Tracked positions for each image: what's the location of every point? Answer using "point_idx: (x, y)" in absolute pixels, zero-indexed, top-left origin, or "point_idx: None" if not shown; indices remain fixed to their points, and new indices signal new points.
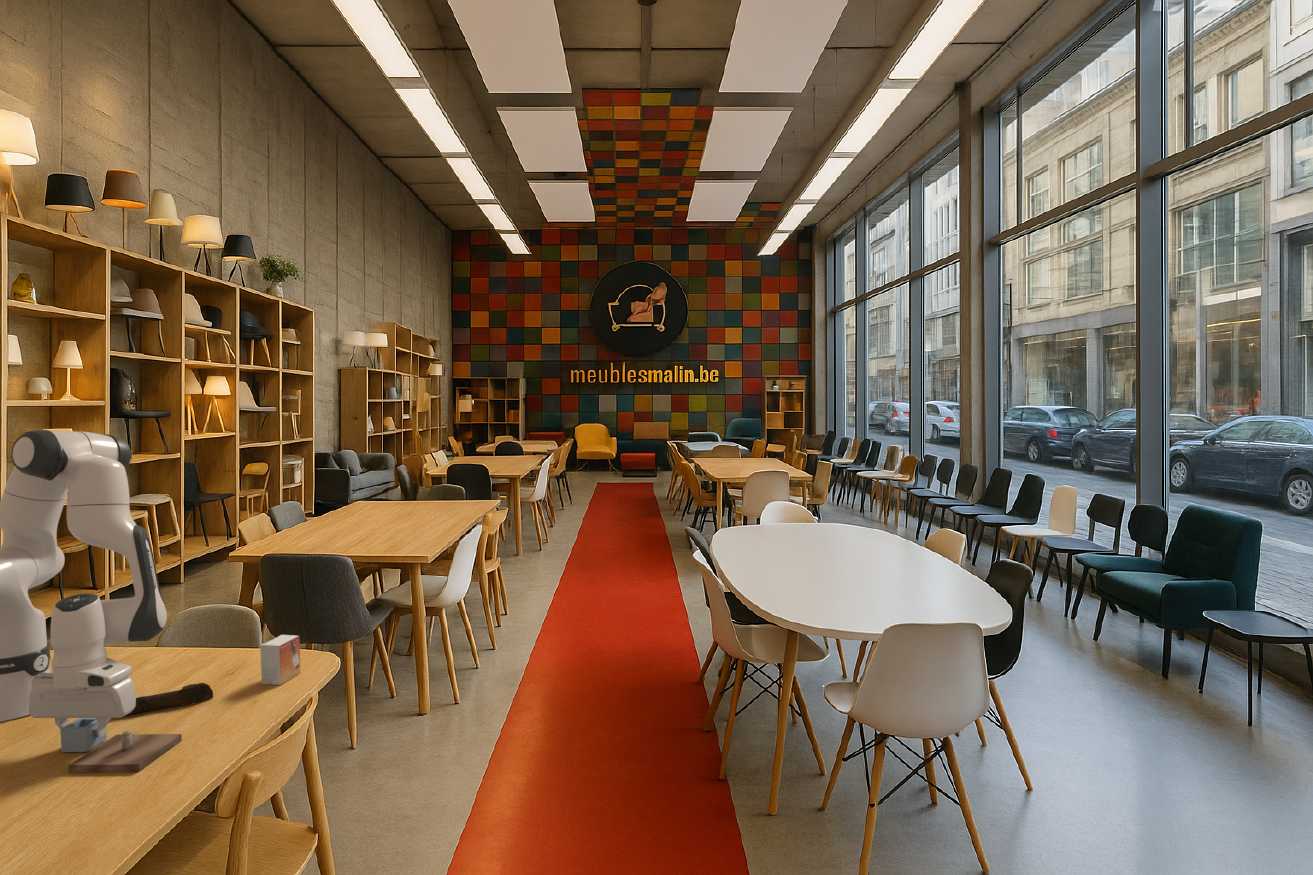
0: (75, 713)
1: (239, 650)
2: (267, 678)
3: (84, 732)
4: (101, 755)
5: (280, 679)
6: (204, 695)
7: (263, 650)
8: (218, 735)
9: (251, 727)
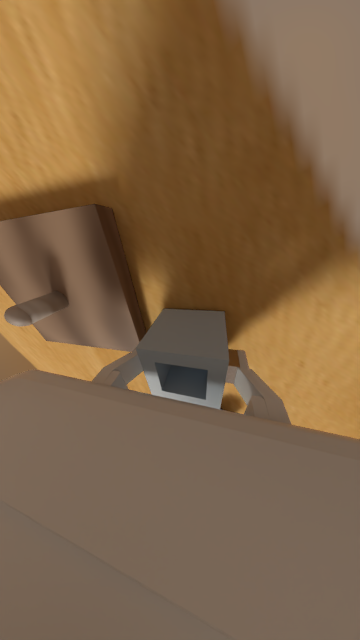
0: (160, 422)
1: None
2: None
3: (143, 339)
4: (75, 270)
5: None
6: None
7: None
8: (35, 340)
9: (27, 352)
